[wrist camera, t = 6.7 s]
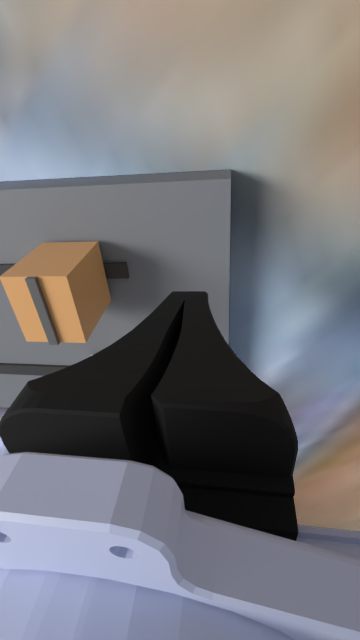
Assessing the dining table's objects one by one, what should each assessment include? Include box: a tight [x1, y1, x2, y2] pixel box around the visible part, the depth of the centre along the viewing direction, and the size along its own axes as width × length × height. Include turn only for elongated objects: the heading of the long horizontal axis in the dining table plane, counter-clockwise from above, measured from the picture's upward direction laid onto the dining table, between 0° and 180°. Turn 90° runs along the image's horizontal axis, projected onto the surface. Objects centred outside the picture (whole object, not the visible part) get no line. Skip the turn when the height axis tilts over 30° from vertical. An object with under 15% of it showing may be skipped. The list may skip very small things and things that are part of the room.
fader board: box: [0, 170, 231, 407], centre depth 20 cm, size 15×23×2 cm, turn 94°
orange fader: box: [0, 241, 111, 345], centre depth 15 cm, size 3×3×4 cm
